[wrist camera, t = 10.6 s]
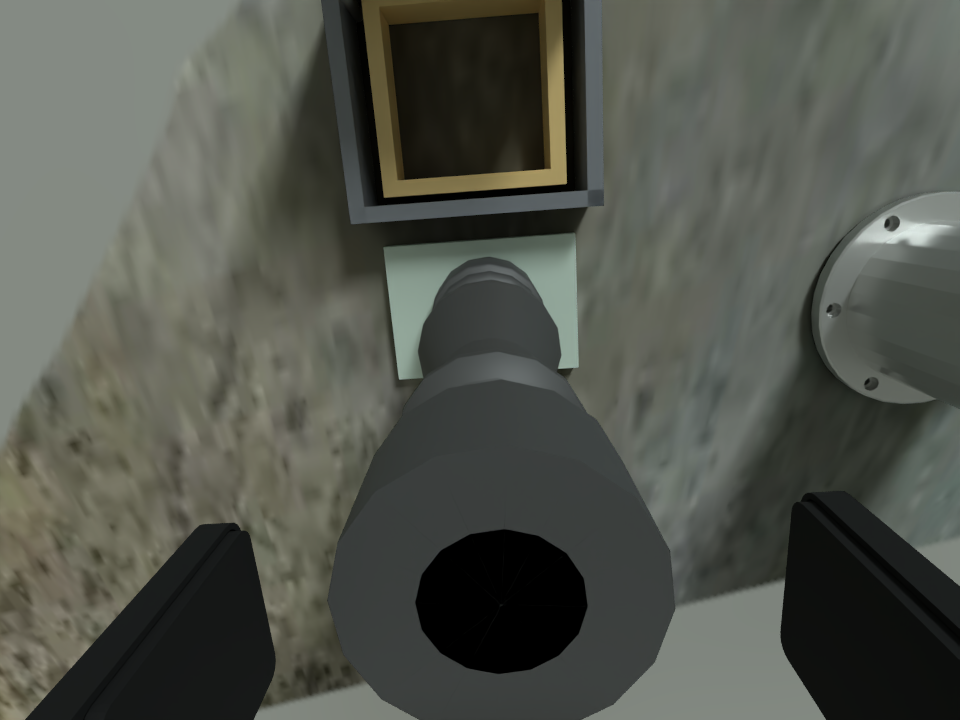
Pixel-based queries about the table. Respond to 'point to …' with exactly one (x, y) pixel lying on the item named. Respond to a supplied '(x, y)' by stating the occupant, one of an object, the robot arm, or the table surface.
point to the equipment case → (426, 3)
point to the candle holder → (498, 529)
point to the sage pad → (429, 264)
